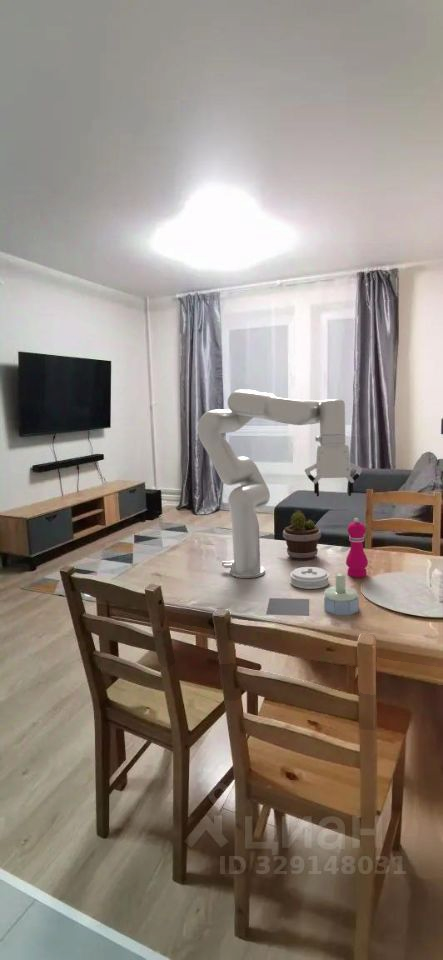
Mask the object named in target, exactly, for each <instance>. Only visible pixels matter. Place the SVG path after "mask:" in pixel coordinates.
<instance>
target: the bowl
mask: <svg viewBox="0 0 443 960" xmlns="http://www.w3.org/2000/svg"><path fill="white" fill-rule="evenodd" d="M359 602H360V601H359V595H358V593H357V598H356V599H355V600H353V601H349V602H336V601H332V600H329V599H327V598H326V597H325V592H324V593H323V604H324V605H323V607H324V609H323V610H324V611H326V612H328V613H330V614H333V615H339V616H351V615H352V614H353V615H354V614H355V613H358V612H359V611H360V610H359V609H360V608H359V607H360V606H359Z"/></svg>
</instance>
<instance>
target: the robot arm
mask: <svg viewBox="0 0 443 960" xmlns="http://www.w3.org/2000/svg"><path fill="white" fill-rule="evenodd" d="M345 404H346V403H345V401H344V400H343V399H338V398H335V399H323V400H317V399H302V400H301V399H291V398H284V397H283V398H282V397H277V396H276V395H275V394H274V393H271V392H268V393H267V392H261V391H260V392H259V391H257V390H255V389H254V390H253V389H237V390H235V391H232V393H231V394H229V396H228V398H227V407H228V409H227V408H226V409H225V408H223V409H212V410H208V411H207V412H204V413H203V414H202V416H201V417H200V419H199V421H198V425H197V434H198V438H199V440H200V443H201V445H202V446H203V449H204V450H205V451H206V453H207V455H208V457H209V459H210V461H211V462H212V465H213V467H214V469H215V470H216V473H217V476H218V477H219V478H220V480H221V482H222V483H223V484H224V485H226V486H234V485H239V484H240V486H237V487H236V488H233V490H232V491H231V492H230V493H229V495H228V499H227V501H228V503H227V504H228V508H229V513H230V517H231V529H232V551H233V554H232V555H233V559H232V560H230V561H228V560H223V561H221V565H222V566H221V567H223V568H224V569H229V574H230V573H231V574H232V575H233V577H234V576H236V577H235V578H237V577H239V578H238V579H254V578H258V577H262V576H264V574H265V573H266V569H265V567H264V566H262V565H261V545H260V542H261V541H260V523H259V519H258V516H257V513H256V510H258V509H261V508H263V507H265V506H266V505H267V504H268V503H269V501H270V497H271V496H270V490H269V487H268V485H267V484H266V483H267V482H266V481H265V479H264V478H263V476H262V474H261V472H260V470H259V467H258V466H257V464H256V463H255V462H254V461H253V460H252V459H251V458H249V457H248V456H237V455H236V453H235V452H234V450H233V449H232V446H231V445H230V442H229V441H228V440H226V439H225V438H224V436H223V435H222V434H227V433H228V434H229V433H234V432H237V431H238V430H240V429H242V428H243V427H244V426H245V425H247V424H248V423H250V421H251V420H252V419H254V418H257V419H263V420H268V421H271V422H272V421H273V422H276V423H280V424H288V425H293V426H307V425H315V424H319V436H316V437H314V438H315V442H318V443H319V445H318V444H317V450H316V461H315V462H316V463H314V464H312V465H310V466H309V467H307V468H305V469H304V473H305V474H306V476H307V479H309V480H310V481H311V482H312V483H313V487H314V489H313V490H314V492H313V493H314V494H316V497H320V487H319V485H320V483H319V481H320V480H321V479H335V478H336V479H338V478H342V479H343V478H346V479H347V480H348V482H347V495H348V496H349V497H352V493H354V483H355V482H356V480H357V479H358V478H360V475H361V473H362V472H363V468H362V467H361V466H359V465H356V464H354V463H352V462H351V457H350V456H351V454H350V448H349V444H347V443H346V405H345ZM315 469H316V476H313V474H311V471H314V470H315ZM351 469H353V470H356V471H355V474H353V475H352V476H351ZM231 574H230V575H231ZM232 575H231V576H232Z"/></svg>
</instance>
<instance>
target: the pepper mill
mask: <svg viewBox="0 0 443 960" xmlns="http://www.w3.org/2000/svg"><path fill="white" fill-rule="evenodd" d="M366 531H367V528H366V526H365V525H364V523H362V522H360V519H359V518H358V517H354V518H353V522H351V523H349V525H348V526H347V533H348V535H349V538H348V541H349V542H350V548H349V552H348V554H347V556H346V559H345V564H346V566H347V567H348V568H347V575H348V576H349V577H350V578H364V577H367V569H366V568H367V567H368V565H369V561H368V557H367V555H366V553H365V551H364V542H365V534H366Z"/></svg>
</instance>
